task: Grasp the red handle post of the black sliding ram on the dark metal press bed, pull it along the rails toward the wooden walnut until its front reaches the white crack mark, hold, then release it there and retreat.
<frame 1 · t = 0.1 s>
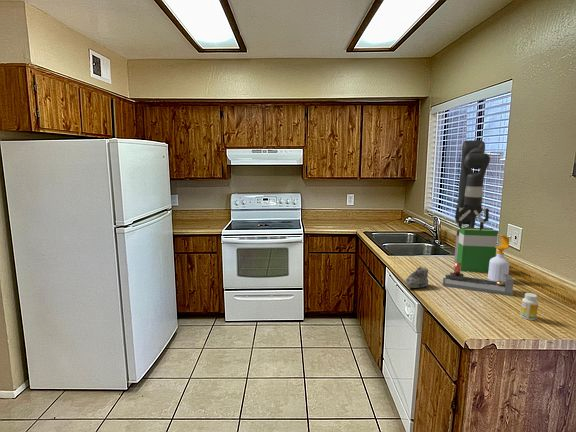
hand: (470, 229, 168), 29 cm above the worktop, fingers open, 8 cm apart
soap bottle: (497, 280, 183), on the worktop
hardback book: (474, 270, 200), on the worktop
mineral rock: (416, 286, 173), on the worktop
supplement bottle: (528, 317, 140), on the worktop
ram: (457, 272, 174), point 7 cm above the worktop, slide at 0.0 cm
press bed: (476, 287, 172), on the worktop
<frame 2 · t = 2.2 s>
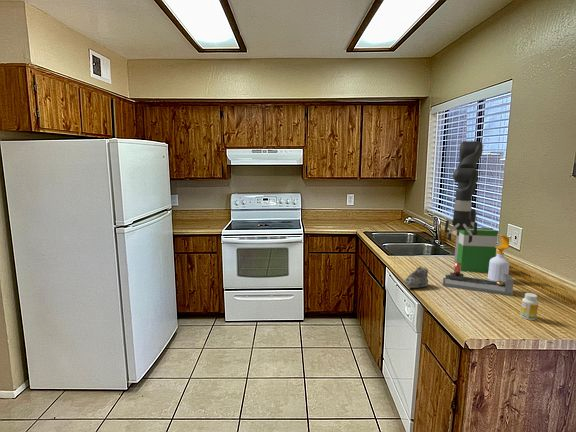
hand: (459, 241, 172), 22 cm above the worktop, fingers open, 8 cm apart
nothing on the worktop moved.
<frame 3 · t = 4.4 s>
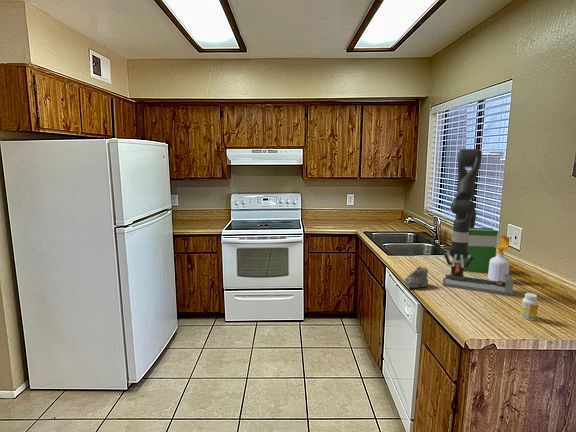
hand: (456, 273, 174), 6 cm above the worktop, fingers closed on ram, 3 cm apart
ram: (457, 272, 174), point 7 cm above the worktop, slide at 0.0 cm, touching gripper
everything else where it was.
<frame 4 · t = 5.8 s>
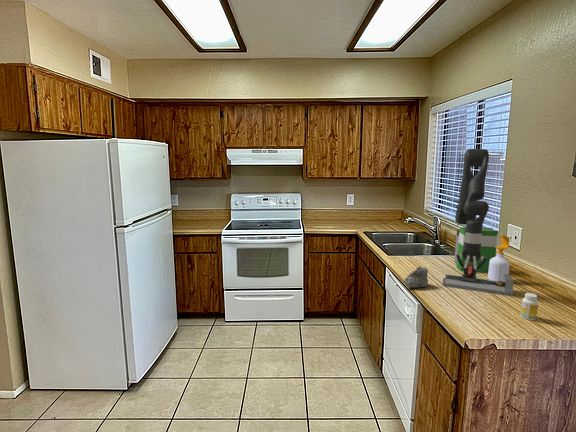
hand: (469, 275, 172), 6 cm above the worktop, fingers closed on ram, 3 cm apart
ram: (469, 274, 172), point 7 cm above the worktop, slide at 5.6 cm, touching gripper
everything else where it was.
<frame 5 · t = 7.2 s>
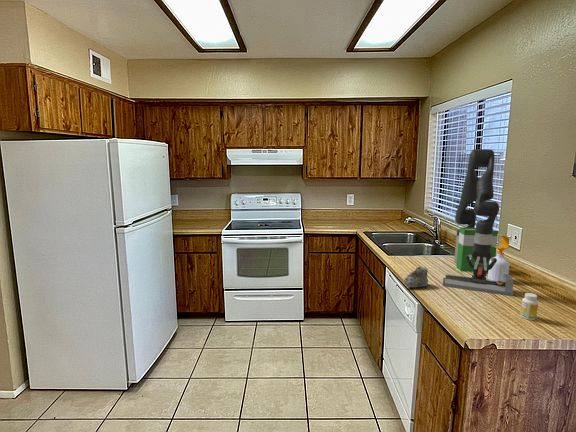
hand: (479, 276, 170), 6 cm above the worktop, fingers closed on ram, 3 cm apart
ram: (479, 275, 170), point 7 cm above the worktop, slide at 10.0 cm, touching gripper
everything else where it was.
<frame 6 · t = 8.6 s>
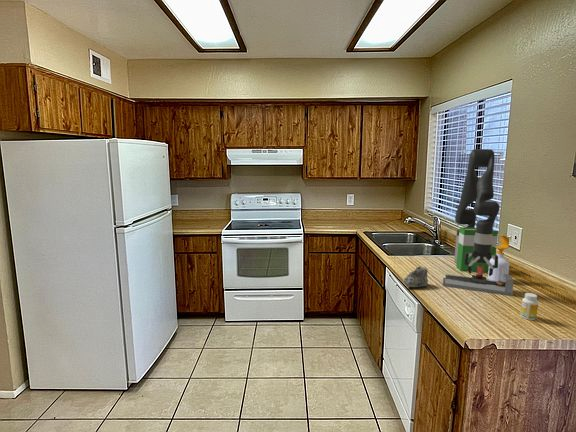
hand: (479, 274, 170), 7 cm above the worktop, fingers open, 8 cm apart
ram: (479, 275, 170), point 7 cm above the worktop, slide at 10.0 cm
everything else where it was.
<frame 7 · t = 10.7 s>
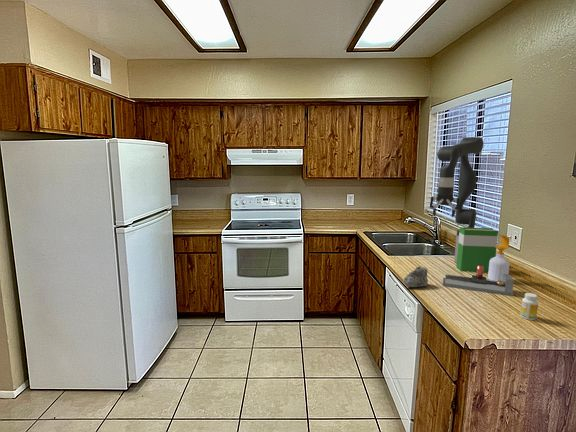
hand: (443, 216, 185), 33 cm above the worktop, fingers open, 8 cm apart
nothing on the worktop moved.
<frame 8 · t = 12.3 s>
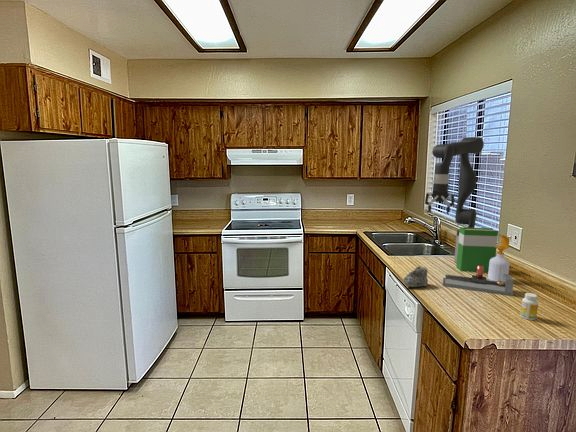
hand: (438, 212, 187), 34 cm above the worktop, fingers open, 8 cm apart
nothing on the worktop moved.
at the end: ram slide at 10.0 cm; the gripper is holding nothing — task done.
